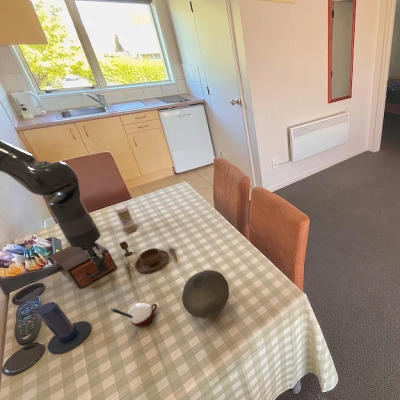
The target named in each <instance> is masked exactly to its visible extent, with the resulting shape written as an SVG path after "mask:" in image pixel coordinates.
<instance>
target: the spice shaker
mask: <svg viewBox="0 0 400 400" xmlns="http://www.w3.org/2000/svg"><path fill="white" fill-rule="evenodd" d="M35 314H36V315H37V316H38V317H39V319H40V320H41V322H43V324H45V326H46V327H47V328H48V329H49V330H50V331H51V333H52V334H53V336H54V335H55V336H56V337H57V338H58V340H59V341H60V342H61V343H68V342H70V341H72V340H73V339H75V338H76V337H77V335H78V330H77V329H76V328H75V326H74V325H73V324H72V323H73V322H72V321H71V320H70V319H69V317H68V316H67V315H66V313H65V312H64V311H63V310H62V308H61V306H60V305H59V304H58V303H57V302H56V301H49V302H45V303H44V304H42V305H41V306H39V307H38V308H37V310H35Z"/></svg>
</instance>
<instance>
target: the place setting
mask: <svg viewBox="0 0 400 400" xmlns="http://www.w3.org/2000/svg"><path fill="white" fill-rule="evenodd" d="M119 247H120V248H121V250H122V251H123V250H124V251H125V253H124V257H130V256H132V255H133V252H132V251H129V245H128V243H127V241H122V242H120V243H119ZM168 251H169V252H168ZM168 251H166V250H163V249H158V248H155V247H153V248H148V249H145V250H144V251H142V252H141V253H140V255H139V257H138V259H136V261H135V262H134V268H135V270H136V271H138V273H139V272H140V273H145V274H147V273H151V272H152V273H153V272H155V271H157V270H159V269H161V268H163V267H164V266H165V265H166V264H167V263H168V262H169V259H170V254H172V256H173V259H174V260H175V261H176V262H177V261H178V258H177V256H176V255H175V249H174V248H170V249H169V250H168ZM169 253H170V254H169ZM124 267H125V269H126V270H127V273H128V277H129V279H132V275H131V271H130V268H131V266H130V263H129V262H127V263H126V264H124Z"/></svg>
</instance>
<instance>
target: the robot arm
mask: <svg viewBox="0 0 400 400" xmlns="http://www.w3.org/2000/svg"><path fill="white" fill-rule="evenodd" d="M37 162H38V161H37V158H36V157H35V155H32V154H31V153H29V152H27V151H25V150H23V149H20V148H18V147H17V146H14V145H13V144H10V143H7V142H5V141H3V140H1V139H0V172H1V173H3V174H6V175H8V176H9V177H10V178H12V179H13V180H15V181H16V182H17V183H19V184H20V185H21V187H23V188H25V189H26V190H27V191H28V192H30V193H31V194H33V195H38V196H42V197H43V196H48V195H52V194H54V193H56V192H57V194H56V196H55V197H54V198H53V199H52V200H51V201H50V202H49V205H48V207H49V210H50V212H51V213H52V215H53V217H54V219H55V220H56V222H57V225H58V228H59V229H60V230H61V232H62V234H63V235H64V237H65V239H66V240H67V242H68V244H69V246H73V247H80V249H81V250H82V251H83V252H84V254H85V255H86V257H88V259H90V260H91V262H93V263H94V264H95V266H96V268H97V270H98V271H100V272H103V271H104V270H106V269H107V266H106V264H105V263H104V261H106V254H105V253H104V252H102V251H101V249H100V248H101V247H100V245H101V244H100V243H99V242H97V241H98V240H99V239H100V237H101V232H100V230H99V229H98V226H97V225H96V222H95V221H94V219H93V217H92V215H91V214H90V213H89V211H88V209H87V208H86V206H85V204H84V202H83V200H82V197H81V196H82V195H81V190H80V189H81V188H80V182H79V176H78V174H77V172H76V171H75V170H74V169H73V167H71V166H70V165H68V164H67V163H65V162H62V161H54V162H50V164H48V165H46V166H43V167H41V168H38V169H36V170H34V168H35V167H36V164H37ZM96 242H97V243H96ZM99 244H100V245H99Z"/></svg>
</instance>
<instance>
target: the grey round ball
mask: <svg viewBox="0 0 400 400" xmlns="http://www.w3.org/2000/svg"><path fill="white" fill-rule="evenodd" d="M181 295H182V296H181V302H182V305H183V308H184V309H185V310H186V311H187V313H188V314H189V315H190V316H192V317H195V318H199V319H209V318H212V317H214V316H215V315H217V314H219V313H221V311H222V310H223V309H224V308H225V307H226V306H227V303H228V300H229V298H230V286H229V283H228V280H227V279H226V277H225V276H224V275H223V273H221V272H220V271H217V270H214V269H205V270H202V271H199V272H196V273H195V274H193V275H192V276H190V278H188V279H187V281H186V282H185V284H184V286H183V289H182V294H181Z"/></svg>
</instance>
